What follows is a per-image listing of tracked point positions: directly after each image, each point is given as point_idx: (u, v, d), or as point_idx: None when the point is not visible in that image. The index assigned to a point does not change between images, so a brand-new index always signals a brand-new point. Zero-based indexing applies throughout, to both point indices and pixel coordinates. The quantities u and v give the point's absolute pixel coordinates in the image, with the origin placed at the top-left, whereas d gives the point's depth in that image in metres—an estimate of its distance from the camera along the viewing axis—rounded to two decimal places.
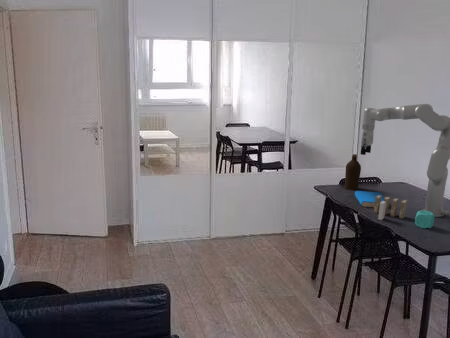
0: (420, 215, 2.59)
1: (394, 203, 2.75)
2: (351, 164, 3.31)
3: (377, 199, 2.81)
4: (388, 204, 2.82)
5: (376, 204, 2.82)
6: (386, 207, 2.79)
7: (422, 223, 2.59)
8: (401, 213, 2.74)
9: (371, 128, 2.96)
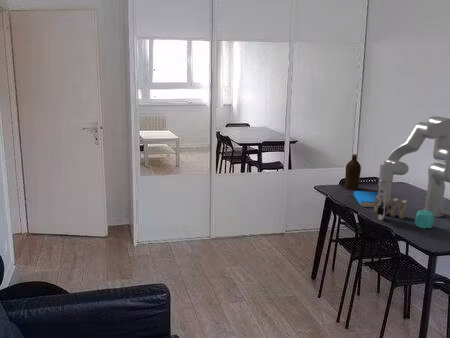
0: (420, 215, 2.59)
1: (394, 203, 2.75)
2: (351, 164, 3.31)
3: (377, 199, 2.81)
4: (388, 204, 2.82)
5: (376, 204, 2.82)
6: None
7: (422, 223, 2.59)
8: (401, 213, 2.74)
9: (389, 185, 2.65)
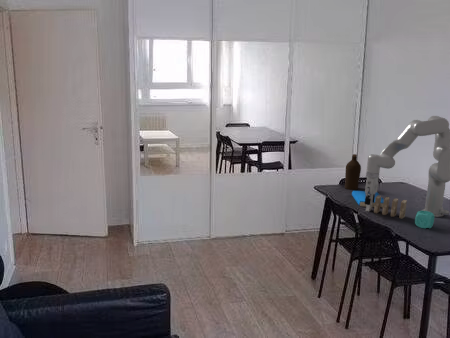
0: (420, 215, 2.59)
1: (394, 203, 2.75)
2: (351, 164, 3.31)
3: (377, 199, 2.81)
4: (388, 204, 2.82)
5: (376, 204, 2.82)
6: (386, 207, 2.79)
7: (422, 223, 2.59)
8: (401, 213, 2.74)
9: (376, 176, 2.79)
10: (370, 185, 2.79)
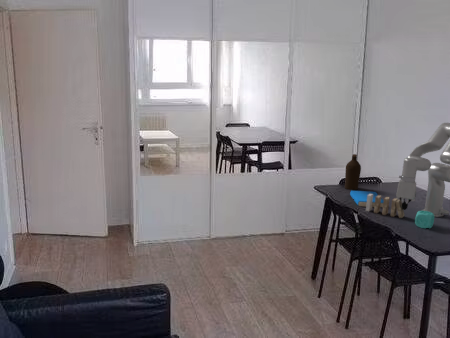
0: (420, 215, 2.59)
1: (394, 203, 2.75)
2: (351, 164, 3.31)
3: (377, 199, 2.81)
4: (388, 204, 2.82)
5: (376, 204, 2.82)
6: (386, 207, 2.79)
7: (422, 223, 2.59)
8: (399, 212, 2.74)
9: (402, 179, 2.70)
10: None
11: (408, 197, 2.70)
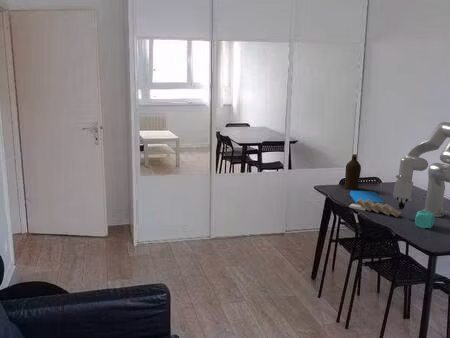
0: (420, 215, 2.59)
1: (377, 206, 2.82)
2: (351, 164, 3.31)
3: (358, 202, 2.88)
4: (373, 203, 2.87)
5: (363, 205, 2.87)
6: (373, 205, 2.84)
7: (422, 223, 2.59)
8: (393, 213, 2.77)
9: (399, 179, 2.71)
10: None
11: (405, 197, 2.71)
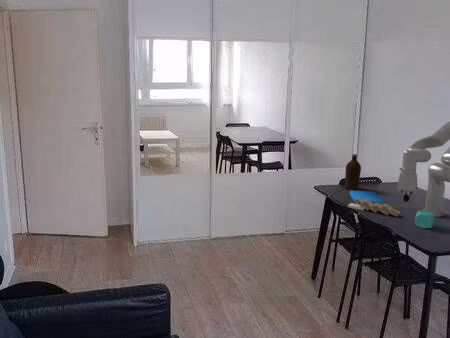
0: (420, 215, 2.59)
1: (376, 206, 2.82)
2: (351, 164, 3.31)
3: (357, 200, 2.89)
4: (372, 203, 2.88)
5: (361, 204, 2.88)
6: (371, 205, 2.84)
7: (422, 223, 2.59)
8: (392, 212, 2.77)
9: (403, 171, 2.69)
10: None
11: (409, 189, 2.69)
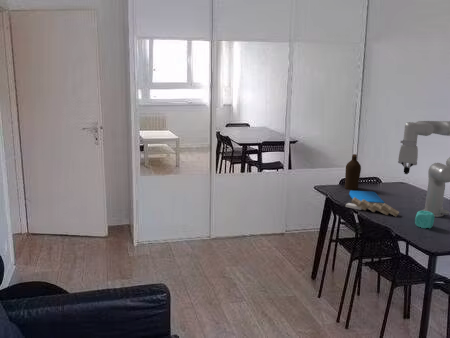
0: (420, 215, 2.59)
1: (375, 207, 2.82)
2: (351, 164, 3.31)
3: (354, 201, 2.88)
4: (369, 203, 2.88)
5: (358, 204, 2.87)
6: (369, 205, 2.84)
7: (422, 223, 2.59)
8: (392, 212, 2.78)
9: (404, 143, 2.73)
10: None
11: (410, 161, 2.73)
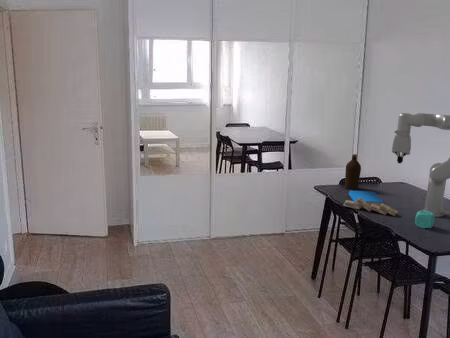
0: (420, 215, 2.59)
1: (373, 207, 2.82)
2: (351, 164, 3.31)
3: (346, 203, 2.91)
4: (365, 201, 2.89)
5: (352, 204, 2.89)
6: (365, 204, 2.85)
7: (422, 223, 2.59)
8: (390, 212, 2.78)
9: (398, 133, 2.83)
10: None
11: (403, 151, 2.83)
